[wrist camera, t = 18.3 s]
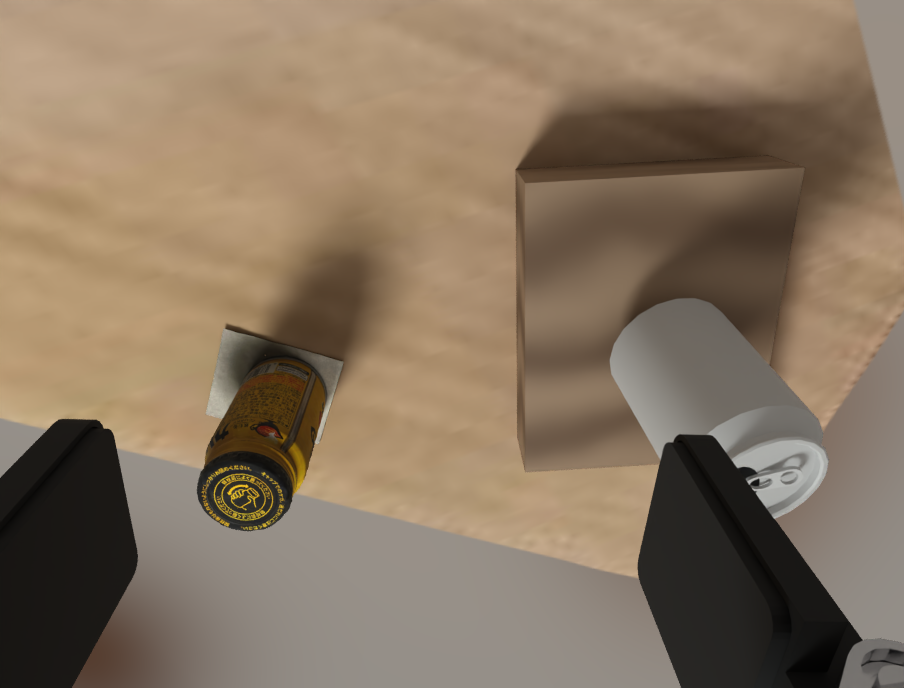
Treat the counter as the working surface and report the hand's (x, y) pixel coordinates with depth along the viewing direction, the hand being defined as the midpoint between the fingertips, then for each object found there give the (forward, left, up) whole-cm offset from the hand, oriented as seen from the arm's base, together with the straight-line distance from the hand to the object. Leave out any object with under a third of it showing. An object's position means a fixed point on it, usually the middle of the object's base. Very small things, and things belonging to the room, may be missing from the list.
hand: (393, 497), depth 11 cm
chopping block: (+9, +15, -33) cm, 37 cm away
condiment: (+16, -10, -33) cm, 38 cm away
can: (+9, +16, -27) cm, 33 cm away
